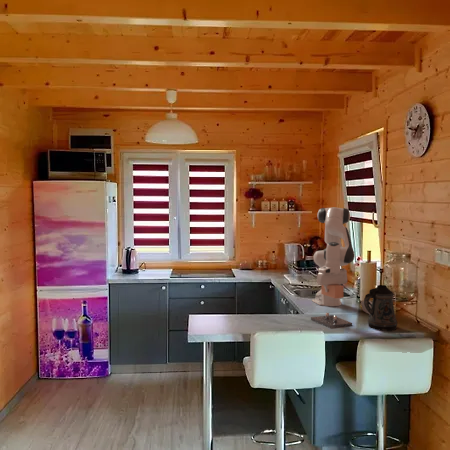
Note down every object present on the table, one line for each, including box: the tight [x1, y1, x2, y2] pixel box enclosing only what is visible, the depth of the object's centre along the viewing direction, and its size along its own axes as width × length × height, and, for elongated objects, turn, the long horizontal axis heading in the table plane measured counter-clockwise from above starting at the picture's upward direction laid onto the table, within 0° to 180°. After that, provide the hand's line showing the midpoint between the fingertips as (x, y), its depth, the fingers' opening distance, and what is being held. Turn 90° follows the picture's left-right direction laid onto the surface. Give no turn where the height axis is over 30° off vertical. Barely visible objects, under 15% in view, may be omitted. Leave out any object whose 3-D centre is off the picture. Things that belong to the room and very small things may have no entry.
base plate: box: [310, 312, 353, 328], centre depth 286 cm, size 20×16×5 cm
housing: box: [320, 284, 345, 299], centre depth 285 cm, size 14×6×7 cm, turn 23°
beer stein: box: [363, 284, 398, 332], centre depth 275 cm, size 16×19×25 cm
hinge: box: [360, 300, 372, 316], centre depth 310 cm, size 17×5×10 cm, turn 6°
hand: (332, 291), depth 285 cm, fingers closed on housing, 6 cm apart
